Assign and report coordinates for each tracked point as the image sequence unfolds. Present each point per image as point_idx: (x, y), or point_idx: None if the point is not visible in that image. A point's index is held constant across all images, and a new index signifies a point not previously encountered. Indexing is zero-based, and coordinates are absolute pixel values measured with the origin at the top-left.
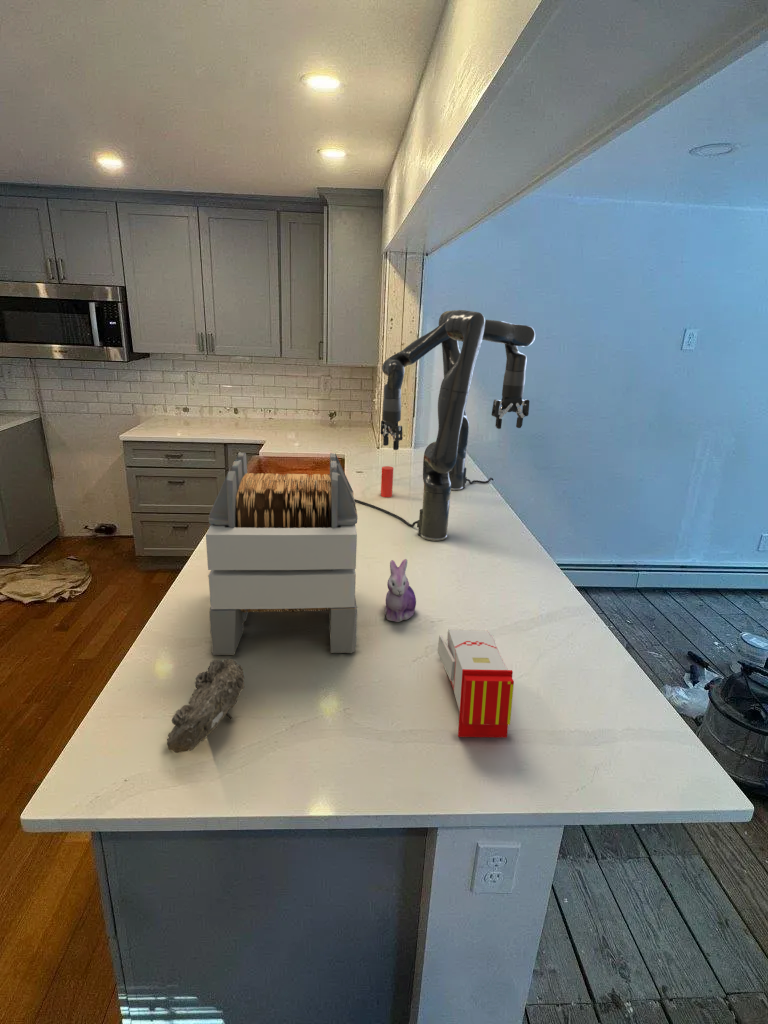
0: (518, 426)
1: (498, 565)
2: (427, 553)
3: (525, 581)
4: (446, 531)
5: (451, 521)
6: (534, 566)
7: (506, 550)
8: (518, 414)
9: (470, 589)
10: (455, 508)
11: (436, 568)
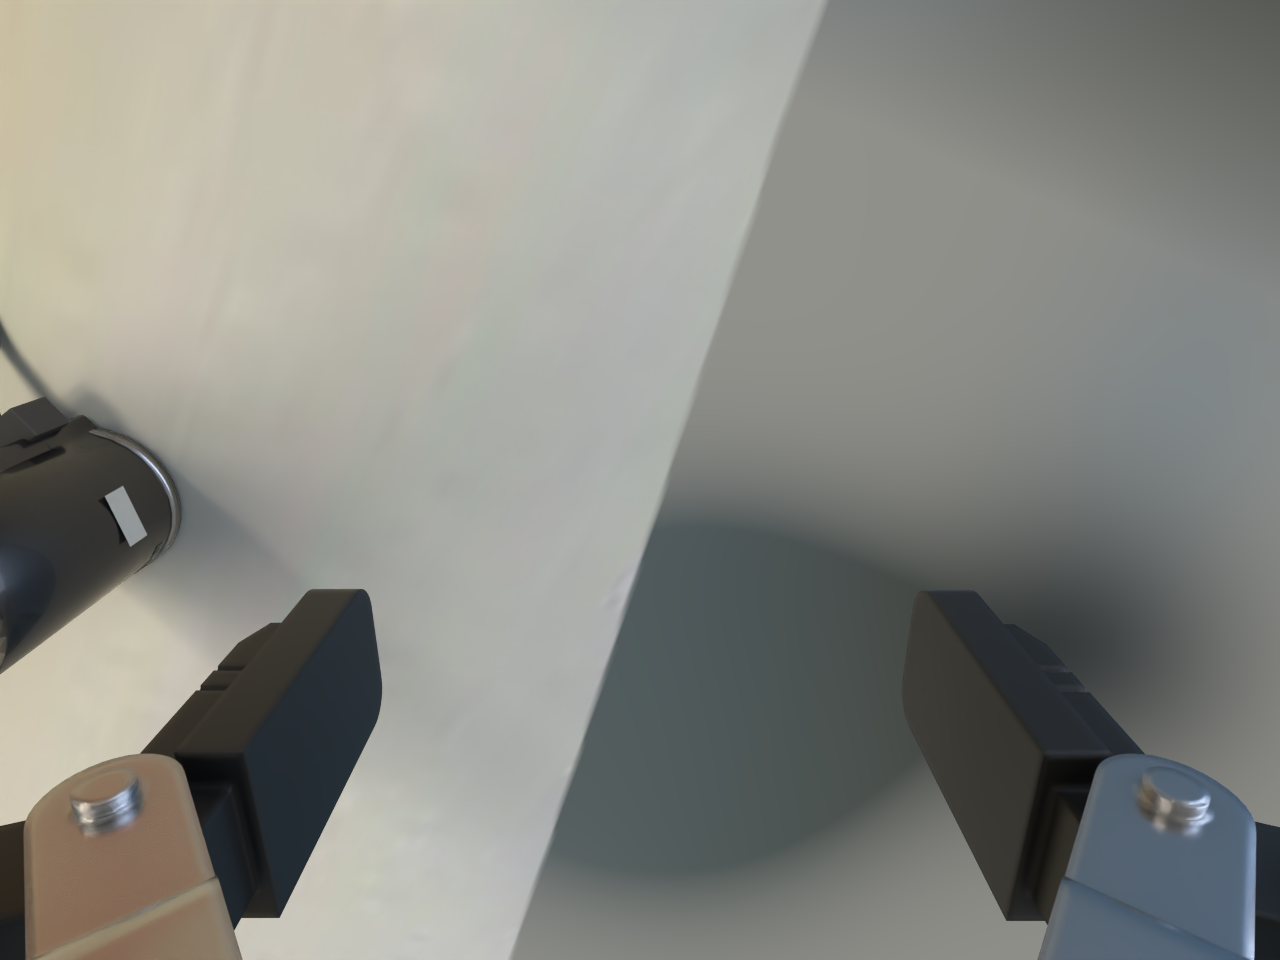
0: (916, 692)
1: (324, 836)
2: (31, 673)
3: (369, 953)
4: (142, 565)
5: (286, 305)
6: (472, 875)
7: (432, 730)
8: (1121, 871)
9: None
10: (410, 49)
11: None
